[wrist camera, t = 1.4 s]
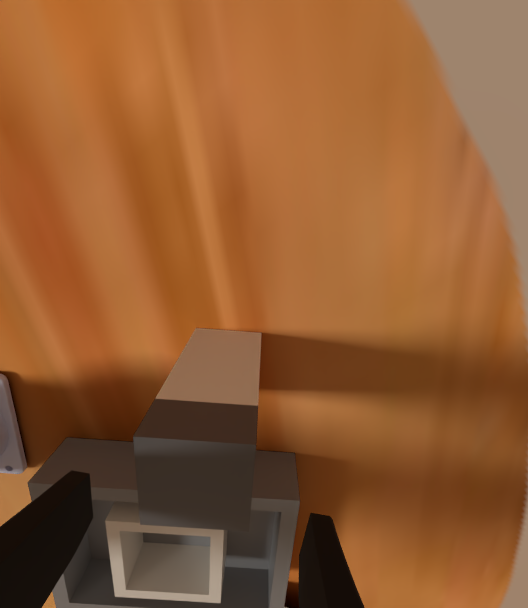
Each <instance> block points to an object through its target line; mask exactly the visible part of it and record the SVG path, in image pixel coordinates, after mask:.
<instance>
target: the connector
mask: <svg viewBox="0 0 528 608" xmlns="http://www.w3.org/2000/svg"><path fill="white" fill-rule="evenodd" d="M261 334H262V333H258V332H245V331H231V330H217V329H203V328H196V329H195V331H194V332H193V334H192V336H191V338H190V339H189V341H188V343H187V344H186V346H185V348H184V350H183V351H182V353H181V355H180V356H179V358H178V360H177V362H176V363H175V365H174V367H173V369H172V370H171V372H170V374H169V375H168V377H167V379H166V381H165V382H164V384H163V386H162V388H161V389H160V391H159V393H158V394H157V396H156V398H155V400H154V401H153V403H152V405H151V407H150V408H149V410H148V412H147V413H146V415H145V417H144V419H143V420H142V422H141V424H140V426H139V427H138V429H137V431H136V432H135V434H134V436H133V441H134V454H135V467H136V479H137V492H138V505H139V517H140V525H153V526H169V527H184V528H200V529H215V530H231V531H246V532H249V526H250V514H251V502H252V490H253V478H254V466H255V453H256V439H257V418H258V397H259V376H260V355H261Z"/></svg>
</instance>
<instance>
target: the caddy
mask: <svg viewBox="0 0 528 608" xmlns="http://www.w3.org/2000/svg"><path fill="white" fill-rule="evenodd" d="M71 470H73V471H79V472H84V473H90V483H91V496H92V508H93V519H92V521H91V523H90V525H89V527H88V529H87V531H86V533H85V535H84V537H83V539H82V541H81V543H80V545H79V547H78V549H77V551H76V553H75V555H74V556H73V558H72V560H71V561H70V563H69V565H68V566H67V568H66V569H65V571H64V573H63V574H62V576H61V577H60V579H59V581H58V582H57V584H56V585H55V587H54V589H53V590H52V591H53V596H54V600H55V605H56V608H284V604H285V597H286V591H287V584H288V578H289V571H290V564H291V558H292V551H293V544H294V538H295V531H296V525H297V518H298V511H299V505H300V496H299V486H298V477H297V468H296V459H295V453H287V452H272V451H258V450H256V453H255V466H254V478H253V490H252V502H251V514H250V526H249V532H246V531H231V530H215V529H200V528H184V527H169V526H153V525H140V517H139V505H138V492H137V479H136V467H135V454H134V442H126V441H111V440H97V439H82V438H68V437H67V438H66V439H65V440H64V441H63V442H62V444H61V445H60V446H59V447H58V448H57V449H56V450H55V452H54V453H53V454H52V455H51V456H50V457H49V459H48V460H47V461H46V462H45V463H44V464H43V466H42V467H41V468H40V469H39V470H38V471H37V472H36V474H35V475H34V476H33V477H32V478H31V479H30V481H29V482H28V487H29V491H30V496H31V500H32V501H34V500H35V499H36V498H37V497H38V496H40V495H41V494H42V493H43V492H45V491H46V490H47V489H48V488H50V487H51V486H52V485H53V484H55V483H56V482H57V481H58V480H59V479H61V478H62V477H63V476H64V475H66V474H67V473H68V472H70V471H71Z"/></svg>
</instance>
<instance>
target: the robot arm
mask: <svg viewBox="0 0 528 608" xmlns="http://www.w3.org/2000/svg"><path fill="white" fill-rule="evenodd" d="M26 468H27V463H26V458H25V454H24V450H23V445H22V441H21V436H20V432H19V427H18V423H17V418H16V414H15V409H14V405H13V401H12V396H11V392H10V387H9V383H8V379H7V377H6V376H5V375H3V374H0V473H12V474H21V473H23V472H24V470H25V469H26ZM92 519H93V508H92V496H91V483H90V473H84V472H79V471H73V470H71V471H70V472H68V473H67V474H66V475H64V476H63V477H62V478H61V479H59V480H58V481H57V482H56V483H55V484H53V485H52V486H51V487H50V488H48V489H47V490H46V491H45V492H43V493H42V494H41V495H40V496H38V497H37V498H36V499H35V500H34V501H32V502H31V503H30V504H29V505H27V506H26V507H25V508H23V509H22V510H21V511H20V512H18V513H17V514H16V515H15V516H13V517H12V518H11V519H10V520H8V521H7V522H6V523H4V524H3V525H2V526H1V527H0V608H42V606H43V605H44V603H45V601H46V600H47V598H48V597H49V595H50V593H51V592H52V590H53V589H54V587H55V585H56V584H57V582H58V581H59V579H60V577H61V576H62V574H63V573H64V571H65V569H66V568H67V566H68V565H69V563H70V561H71V560H72V558H73V556H74V555H75V553H76V551H77V549H78V547H79V545H80V543H81V541H82V539H83V537H84V535H85V533H86V531H87V529H88V527H89V525H90V523H91V521H92ZM299 608H364V605H363V603H362V600H361V598H360V596H359V593H358V591H357V588H356V586H355V583H354V580H353V578H352V575H351V573H350V570H349V567H348V564H347V562H346V559H345V556H344V553H343V550H342V548H341V545H340V542H339V539H338V536H337V533H336V529H335V526H334V523H333V520H332V518H331V517H330V516H325V515H320V514H314V513H311V514H310V517H309V521H308V525H307V528H306V532H305V536H304V539H303V543H302V547H301V551H300V554H299Z"/></svg>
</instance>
